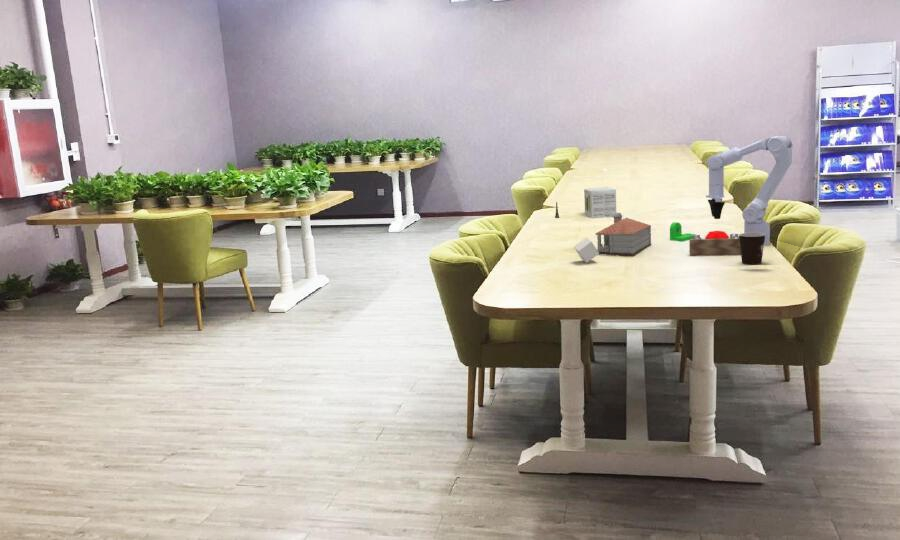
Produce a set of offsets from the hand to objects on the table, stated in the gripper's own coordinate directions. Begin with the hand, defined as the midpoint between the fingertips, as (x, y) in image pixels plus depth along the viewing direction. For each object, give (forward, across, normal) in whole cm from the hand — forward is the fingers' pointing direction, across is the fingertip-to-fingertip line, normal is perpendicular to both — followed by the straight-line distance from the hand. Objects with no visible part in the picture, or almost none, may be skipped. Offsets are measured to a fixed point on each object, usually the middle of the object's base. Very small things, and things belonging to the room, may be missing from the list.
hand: (716, 217), depth 313 cm
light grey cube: (+10, +38, -51) cm, 65 cm away
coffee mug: (+10, +47, +8) cm, 49 cm away
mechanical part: (+10, -7, -12) cm, 17 cm away
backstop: (+10, +31, -3) cm, 33 cm away
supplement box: (+10, -70, -48) cm, 85 cm away
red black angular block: (+10, +23, -2) cm, 25 cm away
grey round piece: (+10, +24, -3) cm, 26 cm away
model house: (+10, +15, -37) cm, 42 cm away
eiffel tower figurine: (+11, -66, -71) cm, 97 cm away
